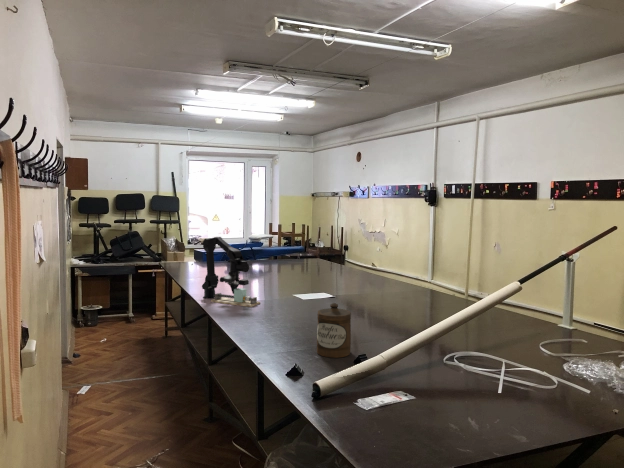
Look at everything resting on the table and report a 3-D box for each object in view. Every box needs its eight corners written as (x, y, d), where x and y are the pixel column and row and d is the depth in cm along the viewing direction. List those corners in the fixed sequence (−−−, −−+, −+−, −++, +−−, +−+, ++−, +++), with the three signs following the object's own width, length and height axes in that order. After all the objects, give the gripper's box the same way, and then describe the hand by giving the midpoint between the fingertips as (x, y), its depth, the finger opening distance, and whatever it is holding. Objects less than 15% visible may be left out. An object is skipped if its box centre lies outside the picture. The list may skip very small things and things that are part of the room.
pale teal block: (233, 301, 303) (234, 289, 303) (238, 299, 308) (238, 288, 307) (242, 302, 301) (242, 290, 300) (246, 300, 305) (246, 288, 305)
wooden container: (311, 355, 206) (312, 304, 204) (323, 345, 220) (324, 298, 218) (344, 360, 201) (346, 308, 199) (354, 349, 215) (355, 301, 213)
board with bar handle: (211, 301, 307) (211, 294, 307) (221, 298, 317) (221, 291, 317) (251, 307, 295) (251, 299, 294) (260, 303, 305) (260, 296, 304)
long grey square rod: (215, 297, 311) (215, 293, 310) (218, 296, 313) (218, 292, 313) (253, 301, 299) (253, 298, 299) (255, 301, 301) (255, 297, 301)
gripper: (214, 269, 301) (213, 294, 303) (239, 273, 294) (238, 298, 295) (225, 267, 311) (224, 291, 313) (249, 271, 304) (248, 295, 305)
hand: (233, 294), depth 306 cm, fingers closed
